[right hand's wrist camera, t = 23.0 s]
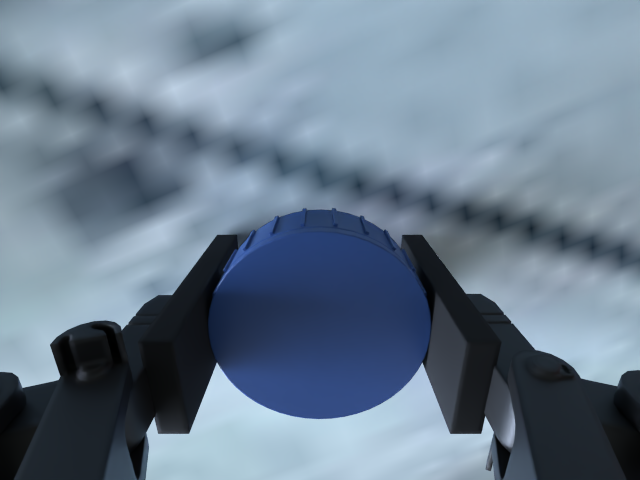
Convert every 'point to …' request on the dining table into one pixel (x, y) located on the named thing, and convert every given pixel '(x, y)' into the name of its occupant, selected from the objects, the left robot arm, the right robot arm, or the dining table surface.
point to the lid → (319, 316)
